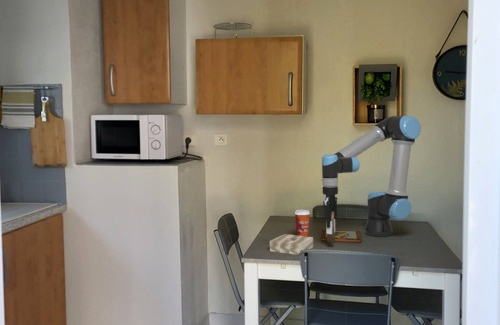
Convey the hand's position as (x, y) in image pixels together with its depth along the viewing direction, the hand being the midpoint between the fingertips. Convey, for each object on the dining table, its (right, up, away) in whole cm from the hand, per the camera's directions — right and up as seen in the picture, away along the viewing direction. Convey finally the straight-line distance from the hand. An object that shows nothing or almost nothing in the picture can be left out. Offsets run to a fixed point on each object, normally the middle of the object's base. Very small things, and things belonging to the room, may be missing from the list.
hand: (330, 232), depth 246 cm
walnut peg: (0, -4, 0) cm, 4 cm away
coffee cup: (-12, -6, +20) cm, 24 cm away
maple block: (-19, -8, -1) cm, 21 cm away
